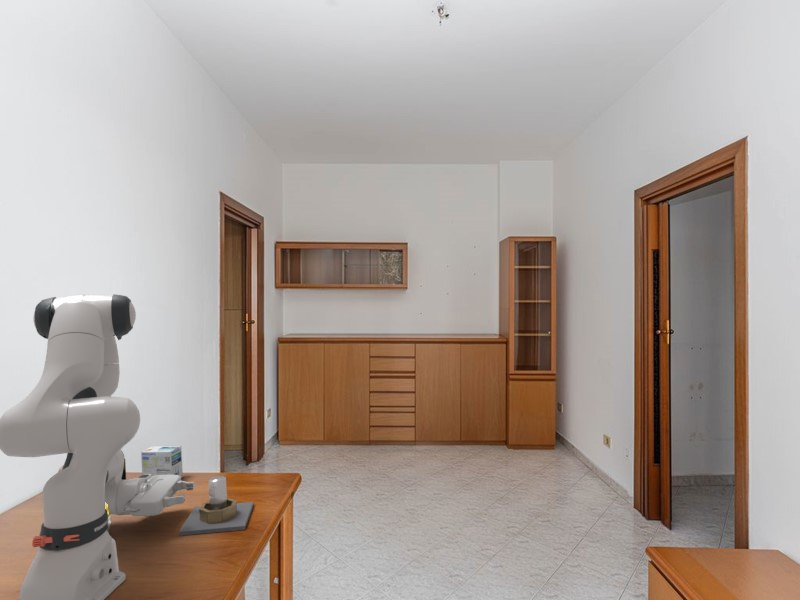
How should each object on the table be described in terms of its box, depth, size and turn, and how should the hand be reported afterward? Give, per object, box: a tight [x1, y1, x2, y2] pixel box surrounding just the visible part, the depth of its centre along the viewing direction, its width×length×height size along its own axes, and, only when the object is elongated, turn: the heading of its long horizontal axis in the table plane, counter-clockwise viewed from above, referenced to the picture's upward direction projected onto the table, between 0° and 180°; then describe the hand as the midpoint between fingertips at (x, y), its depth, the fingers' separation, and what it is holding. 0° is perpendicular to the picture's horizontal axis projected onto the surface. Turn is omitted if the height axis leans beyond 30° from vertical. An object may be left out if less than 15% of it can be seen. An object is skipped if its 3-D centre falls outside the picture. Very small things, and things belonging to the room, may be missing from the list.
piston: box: [208, 475, 228, 510], centre depth 142 cm, size 4×4×10 cm
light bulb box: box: [140, 445, 184, 479], centre depth 175 cm, size 11×7×11 cm, turn 84°
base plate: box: [178, 501, 255, 537], centre depth 142 cm, size 16×16×1 cm
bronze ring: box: [199, 497, 238, 524], centre depth 142 cm, size 9×9×3 cm
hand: (189, 492), depth 141 cm, fingers open, 8 cm apart
